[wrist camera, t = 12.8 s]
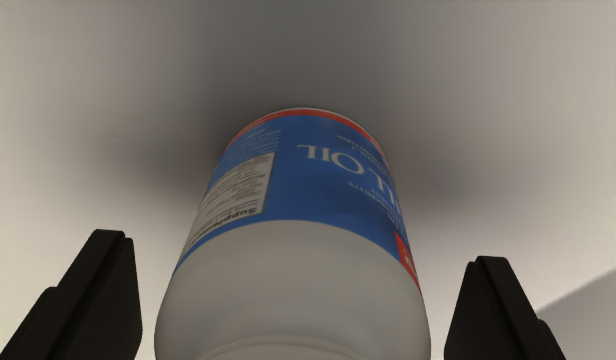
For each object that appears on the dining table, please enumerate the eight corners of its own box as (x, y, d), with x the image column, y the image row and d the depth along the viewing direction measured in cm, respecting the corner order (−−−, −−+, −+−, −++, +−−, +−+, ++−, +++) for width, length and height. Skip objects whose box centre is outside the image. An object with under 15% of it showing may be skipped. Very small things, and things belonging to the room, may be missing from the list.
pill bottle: (427, 189, 16) (548, 520, 8) (300, 280, 18) (284, 629, 10) (306, 61, 14) (290, 310, 6) (179, 177, 16) (23, 496, 8)
